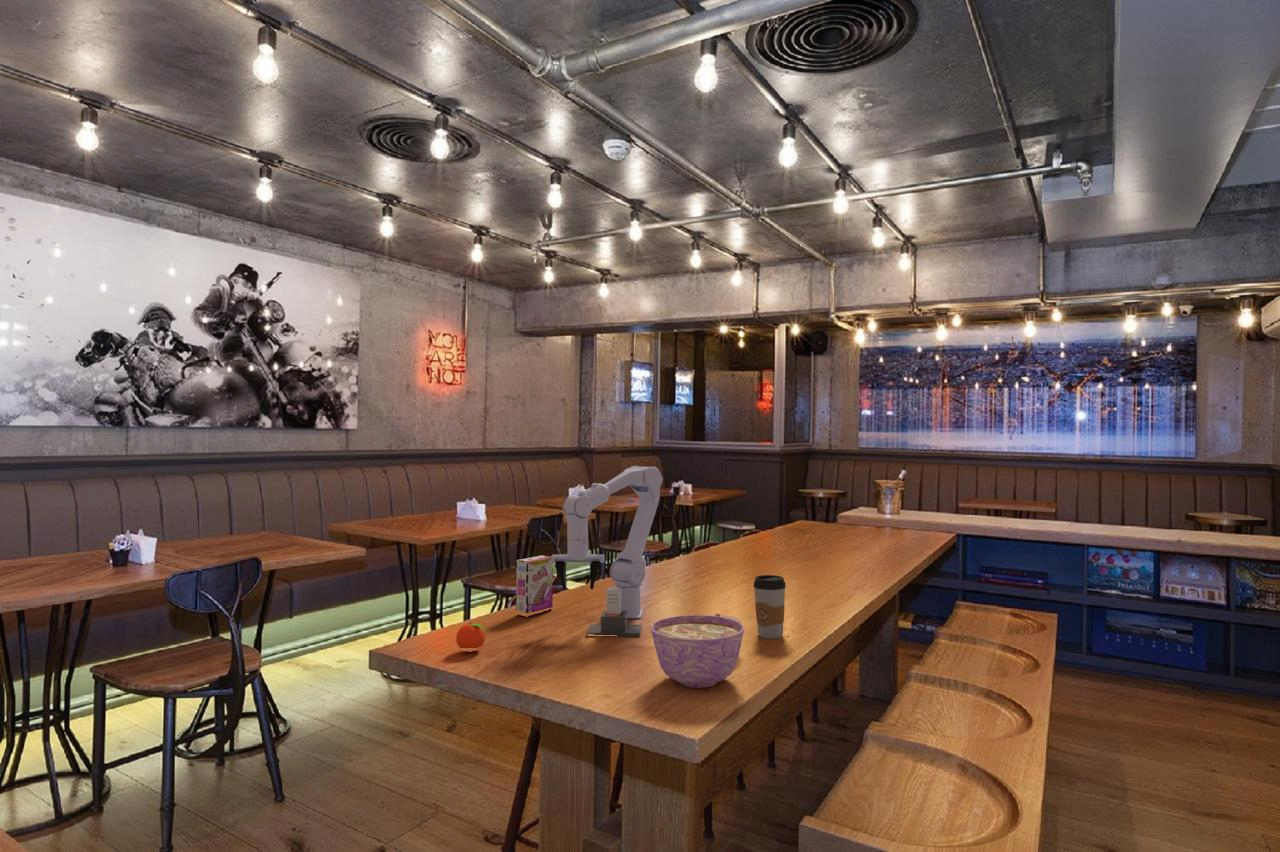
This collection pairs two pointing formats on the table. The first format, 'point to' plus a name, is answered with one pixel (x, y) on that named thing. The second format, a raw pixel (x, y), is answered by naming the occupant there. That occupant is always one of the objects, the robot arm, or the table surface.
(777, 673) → the table surface
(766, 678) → the table surface
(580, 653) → the table surface
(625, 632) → the jack housing
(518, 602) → the candy bar box
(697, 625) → the bowl of food
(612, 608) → the block
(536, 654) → the table surface
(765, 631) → the coffee cup
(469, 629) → the clementine
